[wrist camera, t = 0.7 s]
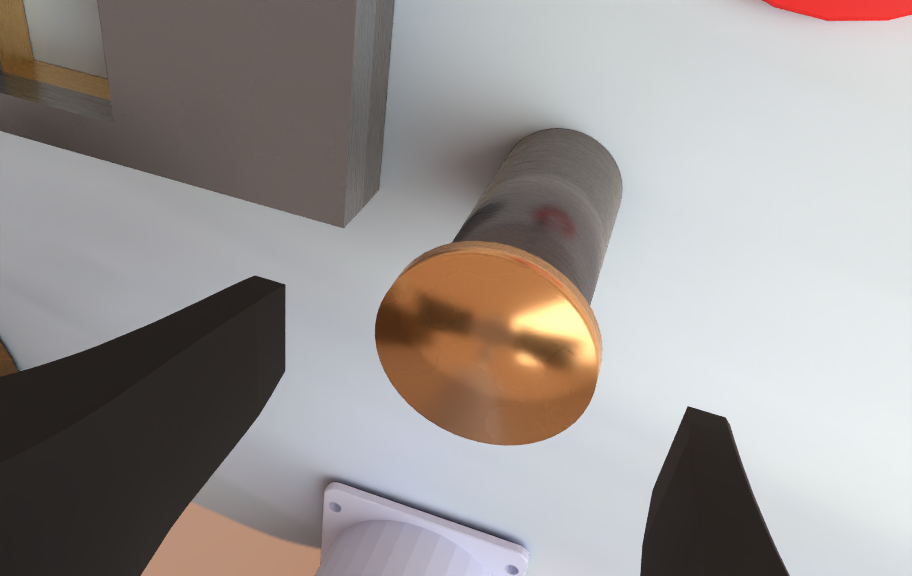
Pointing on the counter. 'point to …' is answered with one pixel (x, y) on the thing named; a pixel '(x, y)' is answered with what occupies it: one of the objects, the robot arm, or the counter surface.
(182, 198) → the counter surface
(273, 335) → the robot arm
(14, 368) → the brown labelled jar
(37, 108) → the slotted panel plate
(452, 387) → the pin
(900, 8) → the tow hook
